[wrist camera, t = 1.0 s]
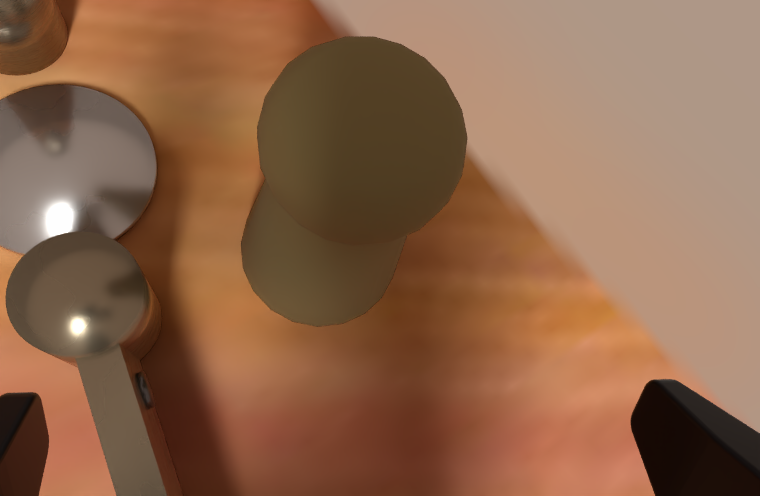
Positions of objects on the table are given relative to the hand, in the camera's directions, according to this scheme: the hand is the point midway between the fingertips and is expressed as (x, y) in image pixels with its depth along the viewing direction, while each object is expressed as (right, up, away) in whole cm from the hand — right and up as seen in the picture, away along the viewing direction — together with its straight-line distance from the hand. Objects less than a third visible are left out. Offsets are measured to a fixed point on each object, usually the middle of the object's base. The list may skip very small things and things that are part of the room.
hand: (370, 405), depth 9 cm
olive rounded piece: (-2, +2, +15) cm, 16 cm away
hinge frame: (-12, +5, +14) cm, 19 cm away
